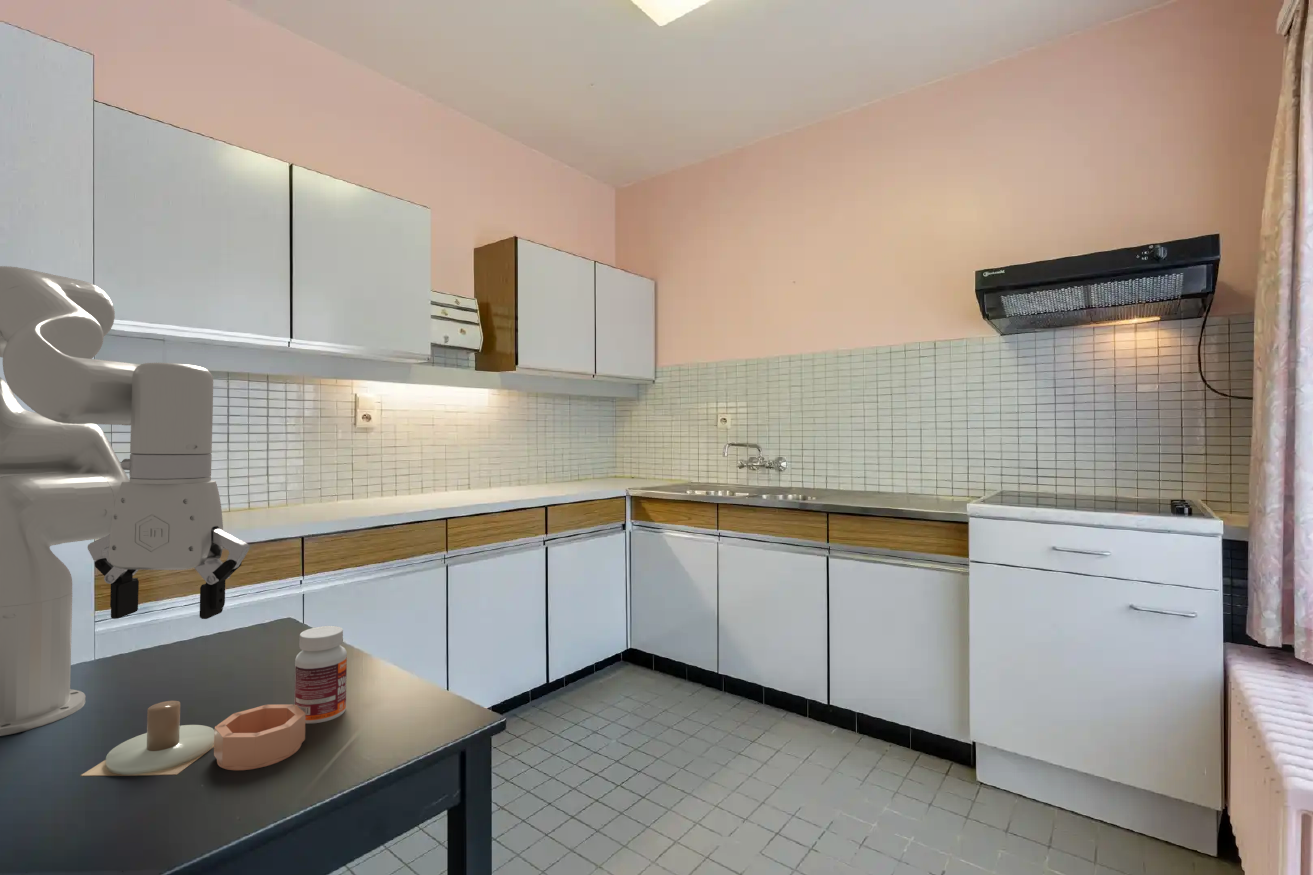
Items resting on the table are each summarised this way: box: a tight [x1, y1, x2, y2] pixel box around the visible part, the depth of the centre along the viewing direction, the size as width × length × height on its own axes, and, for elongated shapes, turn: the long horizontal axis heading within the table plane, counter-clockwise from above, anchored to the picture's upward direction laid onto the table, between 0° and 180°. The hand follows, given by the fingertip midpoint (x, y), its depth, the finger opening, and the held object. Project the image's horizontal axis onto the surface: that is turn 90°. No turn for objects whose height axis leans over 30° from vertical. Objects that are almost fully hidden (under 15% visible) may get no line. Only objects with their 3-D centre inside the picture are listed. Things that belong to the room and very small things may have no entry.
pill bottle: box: [293, 625, 348, 724], centre depth 83 cm, size 6×6×11 cm
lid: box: [105, 700, 214, 776], centre depth 72 cm, size 10×10×5 cm
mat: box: [80, 745, 214, 777], centre depth 72 cm, size 10×10×1 cm
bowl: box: [213, 703, 306, 771], centre depth 73 cm, size 8×8×4 cm
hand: (168, 615), depth 72 cm, fingers open, 9 cm apart
